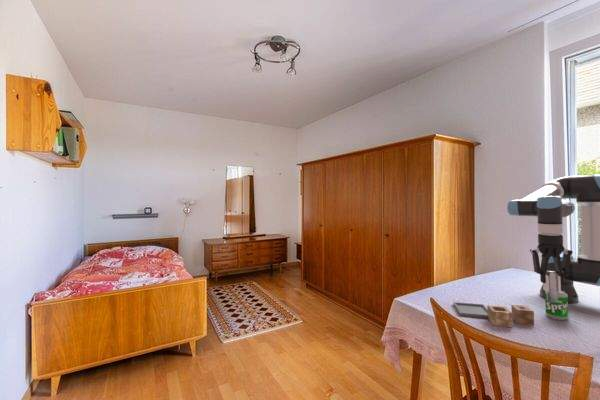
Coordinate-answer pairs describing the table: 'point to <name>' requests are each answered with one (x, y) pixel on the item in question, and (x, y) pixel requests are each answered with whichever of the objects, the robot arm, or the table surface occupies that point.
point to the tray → (471, 310)
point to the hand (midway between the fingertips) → (551, 290)
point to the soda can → (557, 306)
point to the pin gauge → (552, 286)
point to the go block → (499, 315)
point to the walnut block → (522, 314)
